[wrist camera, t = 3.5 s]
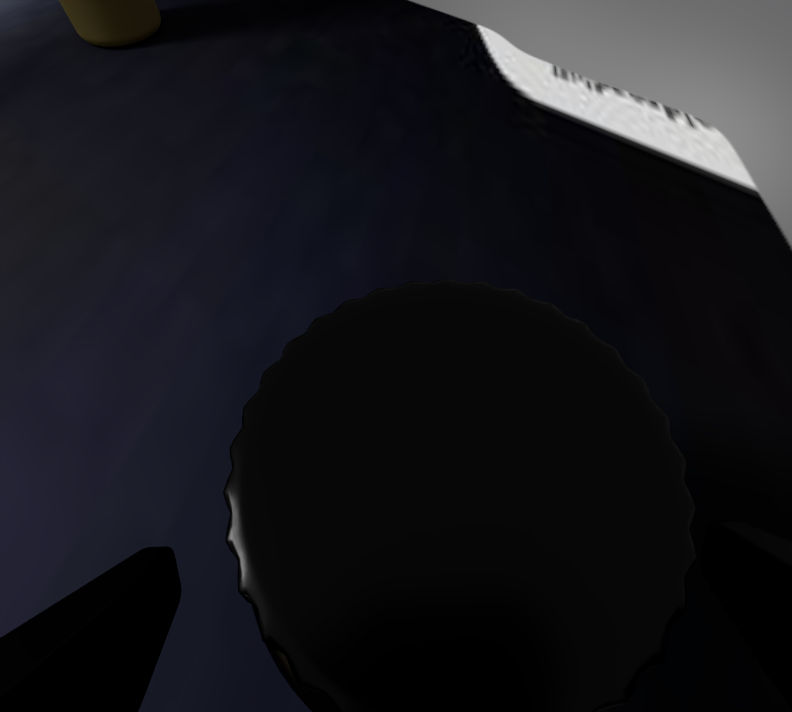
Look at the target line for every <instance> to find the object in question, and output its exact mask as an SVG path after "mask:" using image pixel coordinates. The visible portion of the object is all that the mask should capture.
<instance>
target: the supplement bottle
mask: <svg viewBox="0 0 792 712" xmlns="http://www.w3.org/2000/svg"><path fill="white" fill-rule="evenodd" d="M230 458H231V461H232V471H231V473H230V475H229V477H228V480H227V482H226V485H225V488H224V491H223V494H224V497H225V501H226V504H227V506H228V509H229V511H230V518H229V523H228V527H227V534H226V543H227V545H228V547H229V549H230V550H231V552H232V553H233V554H234V555H235V557H236V559H237V560H238V592H239V593H240V594H241V595H242V596H243V597H244V599H245V600H246V601H247V602H249V603H250V604H252V608H253V611H254V615H255V618H256V621H257V624H258V627H259V630H260V633H261V637H262V641H263V642H265V644H266V647H267V649H268V651H269V653H270V655H271V657H272V658H273V660H274V662H275V664H276V666H277V667H278V669H279V671H280V672H281V674H282V675H283V677H284V678H285V680H286V681H287V682H288V684H289V685H290V687H291V688H292V690H293V691H294V692H295V693H296V694H297V695H298V697H299V698H300V699H301V700H302V701H303V702H304V703H305V705H306V706H307V707H308V708H309V709H310V710H311V711H312V712H599V711H600V710H607V709H613V708H618V707H621V706H624V705H627V704H628V703H629V701H630V699H631V697H632V695H633V693H634V691H635V687H636V682H637V680H638V678H639V675H640V674H641V673H642V672H643V671H645V670H647V669H651V668H653V667H655V666H656V665H658V664H659V663H661V662H662V661H664V657H665V652H666V647H667V639H668V628H669V627H670V626H671V624H672V623H674V622H675V621H677V620H678V619H679V618H680V617H681V616H682V614H683V613H684V612H685V611H686V589H685V577H686V576H687V574H688V573H689V571H690V570H691V568H692V566H693V564H694V562H695V560H696V553H695V548H694V544H693V540H692V537H691V533H690V530H689V528H690V524H691V522H692V520H693V518H694V513H695V509H696V507H695V504H694V502H693V499H692V497H691V494H690V492H689V490H688V488H687V486H686V484H685V482H684V475H685V472H686V460H685V458H684V456H683V455H682V453H681V452H680V450H679V449H678V447H677V446H676V444H675V443H674V442H673V440H672V439H671V435H670V425H669V420H668V417H667V416H666V414H665V413H664V412H663V411H662V410H661V409H660V408H659V407H658V406H657V405H656V404H655V403H654V402H653V401H652V400H651V398H650V394H649V391H648V388H647V386H646V383H645V381H644V379H642V378H641V377H640V376H639V375H637V374H636V373H635V372H633V371H632V370H631V369H629V368H628V367H627V366H626V365H625V364H624V362H623V360H622V358H621V356H620V354H619V353H618V351H617V349H616V348H614V347H612V346H611V345H609V344H607V343H605V342H603V341H601V340H599V339H598V338H596V336H595V335H594V334H593V333H592V331H591V330H590V329H589V327H588V326H587V325H586V324H585V323H583V322H580V321H578V320H575V319H572V318H569V317H567V316H565V315H564V314H563V313H561V312H560V311H559V309H557V308H556V307H555V306H554V305H553V304H551V303H546V302H542V301H537V300H532V299H531V298H529V297H528V296H526V295H525V294H523V293H522V292H520V291H518V290H513V289H498V288H495V287H493V286H491V285H489V284H487V283H484V282H471V283H461V282H458V281H454V280H450V279H443V280H439V281H435V282H432V283H424V282H418V281H411V282H408V283H406V284H403V285H401V286H399V287H397V288H378V289H376V290H375V291H373V292H371V293H370V294H368V295H367V296H366V297H364V298H360V299H352V300H348V301H345V302H344V303H342V304H341V305H340V306H339V307H338V308H337V309H336V310H335V311H334V312H333V313H331V314H327V315H324V316H322V317H319V318H317V319H315V320H314V321H313V322H312V324H311V325H310V326H309V328H308V330H307V331H306V332H305V334H303V335H301V336H299V337H297V338H295V339H294V340H292V341H290V342H289V343H287V345H286V347H285V349H284V350H283V354H282V356H281V358H280V360H279V361H277V362H276V363H274V364H273V365H272V366H270V367H269V368H268V369H267V370H266V371H265V372H264V373H263V375H262V378H261V381H260V387H259V390H258V392H257V393H256V394H255V395H254V396H253V397H252V398H251V399H250V400H249V402H248V403H247V404H246V405H245V406H244V408H243V416H242V428H241V430H240V431H239V433H238V434H237V436H236V437H235V439H234V441H233V443H232V444H231V446H230Z"/></svg>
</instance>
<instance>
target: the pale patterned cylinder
mask: <svg viewBox="0 0 792 712" xmlns="http://www.w3.org/2000/svg"><path fill="white" fill-rule="evenodd" d="M59 1H60V3H61V5H62V7H63V8H64V10H65V12H66V14H67V15H68V17H69V19H70V21H71V22H72V24H73V26H74V28H75V29H76V31H77V33H78V34H79V35H80V36H81V37H82V38H83V39H85V40H86V41H87V42H89V43H91V44H94V45H98V46H103V47H118V46H125V45H130V44H134V43H137V42H140V41H142V40H145V39H147V38H149V37H150V36H152V35H153V34H154V33H155V32H156V31H157V30H158V28H159V27H160V23H161V16H160V12H159V10H158V7H157V5H156V3H155V0H59Z"/></svg>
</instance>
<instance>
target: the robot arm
mask: <svg viewBox="0 0 792 712" xmlns="http://www.w3.org/2000/svg"><path fill="white" fill-rule="evenodd" d="M700 566H701V570H702V573H703V575H704V577H705V579H706V581H707V582H708V584H709V585H710V587H711V588H712V590H713V592H714V593H715V595H716V596H717V598H718V599H719V601H720V603H721V604H722V606H723V607H724V609H725V610H726V612H727V613H728V615H729V617H730V618H731V620H732V621H733V623H734V624H735V626H736V628H737V629H738V631H739V632H740V634H741V635H742V637H743V638H744V640H745V642H746V643H747V645H748V646H749V648H750V649H751V651H752V653H753V654H754V656H755V657H756V659H757V660H758V662H759V663H760V665H761V666H762V668H763V669H764V671H765V672H766V674H767V675H768V677H769V678H770V680H771V681H772V682H773V684H774V685H775V686H776V688H777V689H778V691H779V692H780V693H781V695H782V696H783V698H784V699H785V700H786V702H787V703H788V704H789V706H790V707H791V708H792V542H790V541H788V540H785V539H783V538H780V537H778V536H775V535H773V534H770V533H768V532H766V531H763V530H761V529H758V528H756V527H753V526H751V525H748V524H746V523H744V522H741V521H737V520H719V521H712V522H710V523H709V524H708V526H707V527H706V531H705V537H704V542H703V548H702V553H701V558H700ZM180 598H181V583H180V578H179V573H178V568H177V564H176V559H175V554H174V551H173V550H172V549H171V548H170V547H148V548H144V549H142V550H140V551H138V552H137V553H135V554H134V555H132V556H130V557H129V558H127V559H126V560H124V561H122V562H121V563H119V564H118V565H116V566H114V567H113V568H111V569H110V570H108V571H106V572H105V573H103V574H102V575H100V576H98V577H97V578H95V579H94V580H92V581H90V582H89V583H87V584H86V585H84V586H82V587H81V588H79V589H78V590H76V591H75V592H73V593H71V594H70V595H68V596H67V597H65V598H63V599H62V600H60V601H59V602H57V603H55V604H54V605H52V606H51V607H49V608H47V609H46V610H44V611H43V612H41V613H39V614H38V615H36V616H35V617H33V618H31V619H30V620H28V621H27V622H25V623H23V624H22V625H20V626H19V627H17V628H16V629H14V630H12V631H11V632H9V633H8V634H6V635H4V636H3V637H1V638H0V712H138V710H139V708H140V706H141V703H142V701H143V698H144V696H145V693H146V691H147V688H148V685H149V683H150V680H151V677H152V675H153V672H154V669H155V667H156V664H157V661H158V659H159V656H160V653H161V650H162V648H163V645H164V642H165V640H166V637H167V634H168V632H169V629H170V626H171V624H172V621H173V618H174V616H175V613H176V610H177V608H178V605H179V602H180Z"/></svg>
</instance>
